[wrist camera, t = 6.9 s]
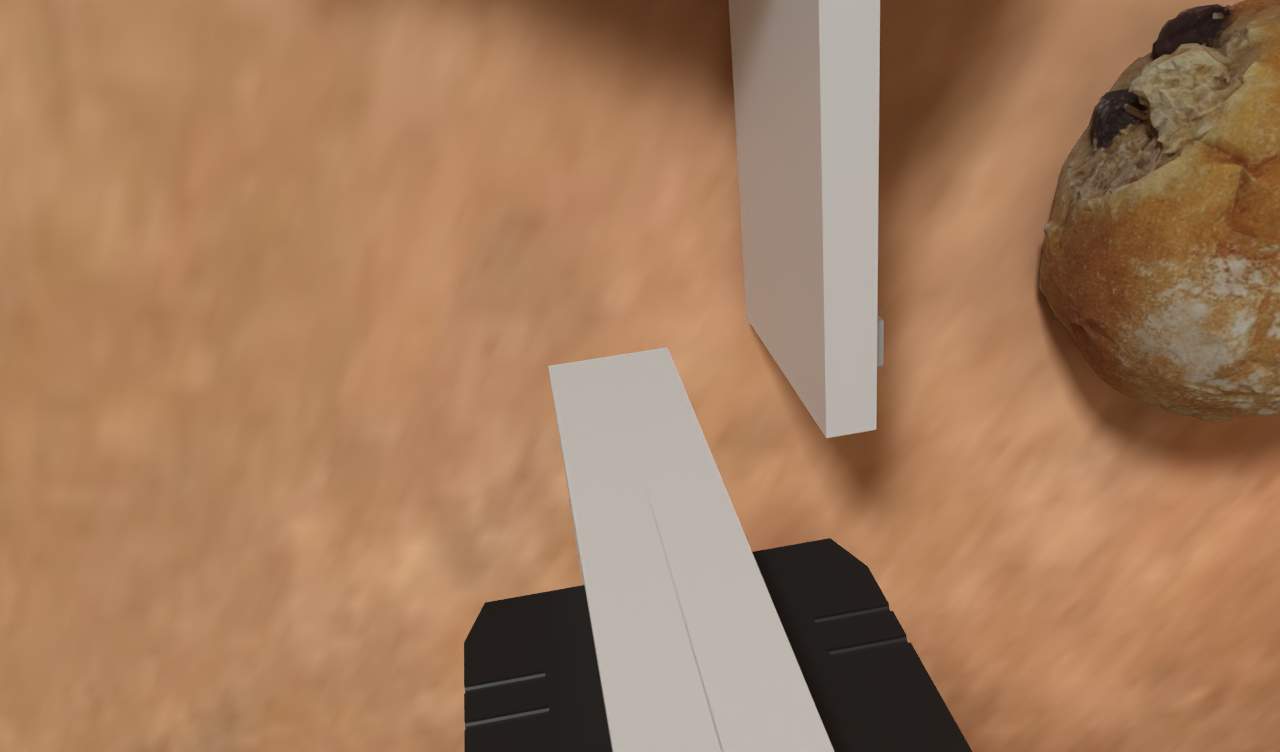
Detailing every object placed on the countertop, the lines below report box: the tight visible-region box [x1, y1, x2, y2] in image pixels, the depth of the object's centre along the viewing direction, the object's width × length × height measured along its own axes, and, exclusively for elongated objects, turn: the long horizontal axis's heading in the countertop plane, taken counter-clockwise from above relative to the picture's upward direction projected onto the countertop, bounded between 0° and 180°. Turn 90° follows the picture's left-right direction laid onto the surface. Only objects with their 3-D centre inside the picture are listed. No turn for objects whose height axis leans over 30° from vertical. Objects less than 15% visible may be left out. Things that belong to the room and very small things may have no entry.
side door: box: [729, 0, 884, 438], centre depth 20 cm, size 2×10×6 cm, turn 6°
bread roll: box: [1039, 0, 1280, 423], centre depth 24 cm, size 10×10×8 cm
